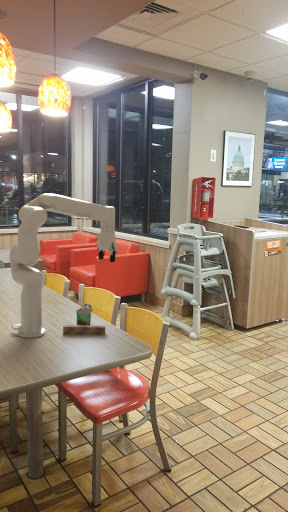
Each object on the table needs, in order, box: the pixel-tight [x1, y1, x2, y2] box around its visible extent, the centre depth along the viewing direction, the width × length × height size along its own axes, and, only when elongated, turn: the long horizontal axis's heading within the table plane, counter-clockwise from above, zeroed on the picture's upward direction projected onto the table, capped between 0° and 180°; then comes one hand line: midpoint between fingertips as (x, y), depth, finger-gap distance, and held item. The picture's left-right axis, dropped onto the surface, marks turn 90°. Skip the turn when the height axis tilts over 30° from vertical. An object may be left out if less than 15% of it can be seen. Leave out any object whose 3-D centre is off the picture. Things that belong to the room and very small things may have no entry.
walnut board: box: [62, 324, 106, 336], centre depth 188 cm, size 20×2×4 cm, turn 95°
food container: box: [75, 303, 94, 325], centre depth 200 cm, size 12×6×10 cm, turn 168°
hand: (106, 260), depth 213 cm, fingers open, 9 cm apart
